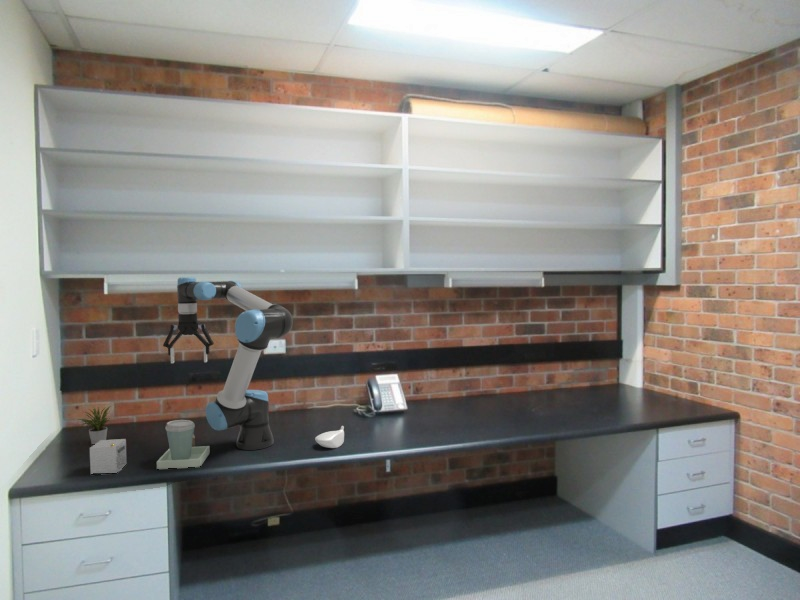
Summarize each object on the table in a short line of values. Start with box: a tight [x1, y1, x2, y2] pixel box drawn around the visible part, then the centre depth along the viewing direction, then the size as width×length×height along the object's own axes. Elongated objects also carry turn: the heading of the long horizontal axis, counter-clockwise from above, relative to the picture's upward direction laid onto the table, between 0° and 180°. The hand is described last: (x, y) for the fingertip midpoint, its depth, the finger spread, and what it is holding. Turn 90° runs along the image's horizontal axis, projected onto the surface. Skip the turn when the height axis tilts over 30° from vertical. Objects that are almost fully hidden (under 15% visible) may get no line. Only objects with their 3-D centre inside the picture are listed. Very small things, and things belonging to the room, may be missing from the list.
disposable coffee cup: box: [165, 419, 196, 460], centre depth 200 cm, size 11×11×15 cm
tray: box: [156, 445, 211, 470], centre depth 201 cm, size 15×15×3 cm
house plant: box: [77, 405, 113, 445], centre depth 225 cm, size 14×14×16 cm
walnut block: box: [192, 434, 196, 447], centre depth 215 cm, size 5×5×5 cm
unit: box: [89, 438, 128, 475], centre depth 193 cm, size 10×9×10 cm
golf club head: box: [314, 425, 345, 449], centre depth 218 cm, size 10×11×12 cm
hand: (189, 362), depth 223 cm, fingers open, 13 cm apart
